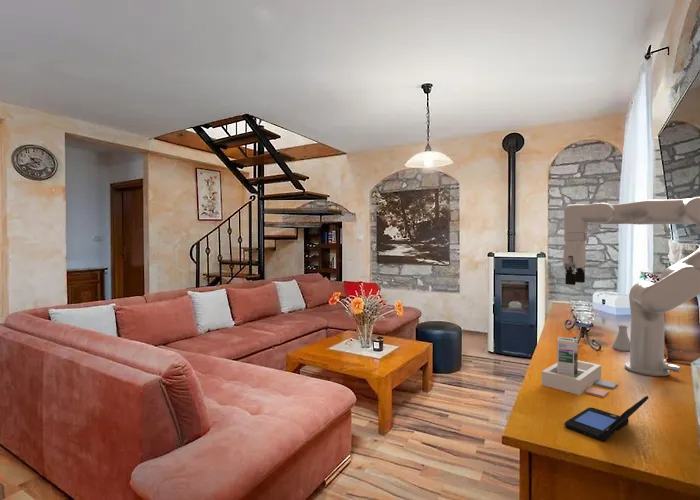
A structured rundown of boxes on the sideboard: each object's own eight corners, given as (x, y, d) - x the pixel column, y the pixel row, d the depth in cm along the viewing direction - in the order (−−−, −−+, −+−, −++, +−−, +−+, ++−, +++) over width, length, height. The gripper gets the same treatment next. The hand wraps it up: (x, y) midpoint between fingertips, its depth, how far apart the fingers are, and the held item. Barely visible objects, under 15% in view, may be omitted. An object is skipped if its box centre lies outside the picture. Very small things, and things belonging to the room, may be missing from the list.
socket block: (620, 382, 126) (620, 369, 126) (600, 400, 112) (600, 385, 112) (565, 370, 138) (565, 357, 138) (541, 385, 125) (541, 371, 125)
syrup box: (556, 384, 123) (557, 339, 123) (557, 378, 128) (557, 335, 128) (577, 388, 120) (578, 342, 120) (577, 382, 126) (577, 337, 125)
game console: (589, 411, 106) (590, 378, 106) (650, 431, 95) (650, 395, 95) (562, 428, 97) (562, 392, 97) (625, 452, 86) (625, 412, 86)
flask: (637, 351, 160) (637, 327, 159) (619, 351, 160) (619, 327, 160) (625, 346, 167) (625, 323, 167) (608, 346, 167) (608, 323, 167)
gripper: (573, 237, 153) (572, 280, 153) (555, 238, 141) (555, 284, 142) (594, 237, 147) (594, 282, 147) (578, 237, 135) (578, 286, 136)
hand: (575, 283), depth 145 cm, fingers open, 9 cm apart
